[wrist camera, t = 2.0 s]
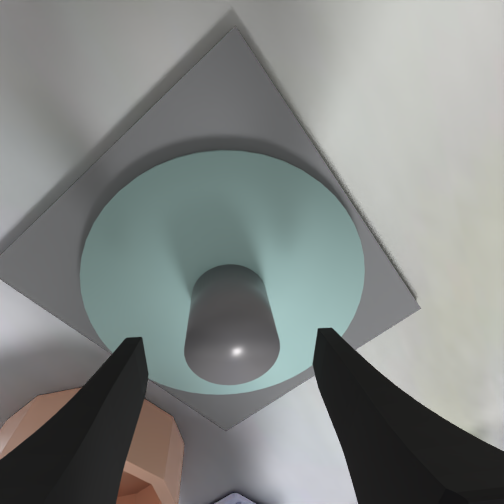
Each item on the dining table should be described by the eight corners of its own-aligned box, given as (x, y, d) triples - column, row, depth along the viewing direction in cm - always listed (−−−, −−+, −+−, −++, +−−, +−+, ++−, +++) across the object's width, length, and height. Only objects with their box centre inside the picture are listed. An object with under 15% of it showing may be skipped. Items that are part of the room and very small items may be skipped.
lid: (403, 297, 18) (458, 353, 14) (217, 418, 21) (217, 493, 17) (249, 70, 12) (265, 49, 8) (20, 283, 15) (-56, 348, 11)
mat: (416, 303, 19) (421, 308, 18) (225, 424, 22) (225, 431, 22) (234, 28, 12) (235, 25, 11) (-8, 264, 15) (-15, 269, 14)
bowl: (214, 443, 23) (213, 505, 19) (108, 509, 25) (90, 575, 22) (83, 359, 18) (49, 421, 14) (-33, 450, 20) (-87, 523, 17)
